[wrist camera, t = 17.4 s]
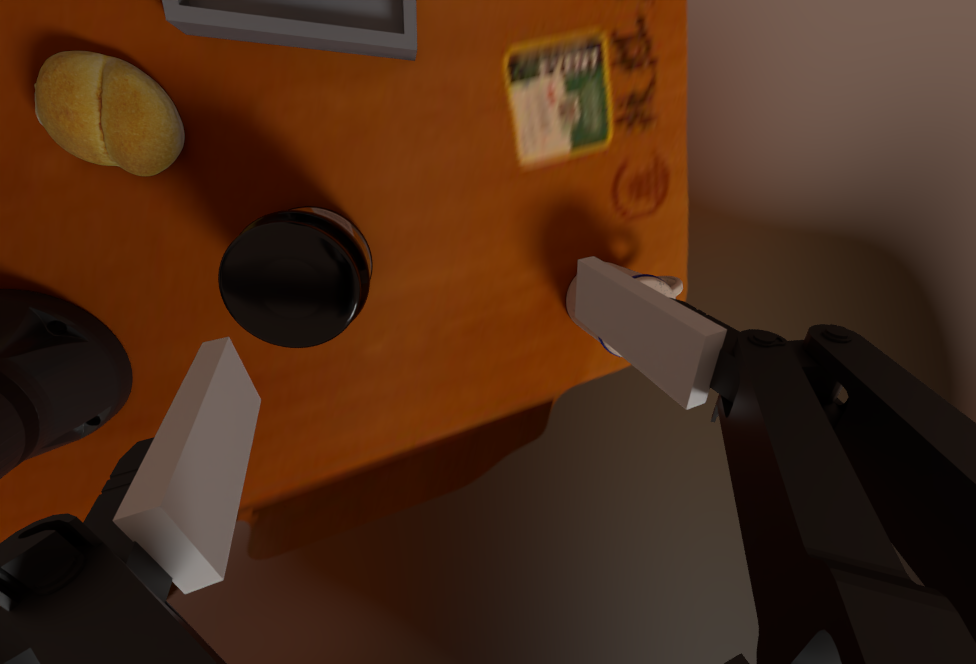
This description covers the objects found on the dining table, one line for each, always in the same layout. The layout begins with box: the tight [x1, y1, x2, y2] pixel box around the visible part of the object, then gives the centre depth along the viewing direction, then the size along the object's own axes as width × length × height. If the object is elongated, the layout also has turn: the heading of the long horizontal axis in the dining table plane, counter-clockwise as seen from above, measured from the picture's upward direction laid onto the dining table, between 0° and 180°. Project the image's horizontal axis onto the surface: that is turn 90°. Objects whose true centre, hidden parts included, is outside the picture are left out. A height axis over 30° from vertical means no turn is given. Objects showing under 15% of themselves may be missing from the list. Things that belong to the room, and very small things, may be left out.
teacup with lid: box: [566, 262, 683, 357], centre depth 43 cm, size 12×9×12 cm
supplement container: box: [218, 206, 373, 348], centre depth 34 cm, size 10×10×12 cm
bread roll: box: [34, 51, 185, 176], centre depth 30 cm, size 8×9×4 cm
